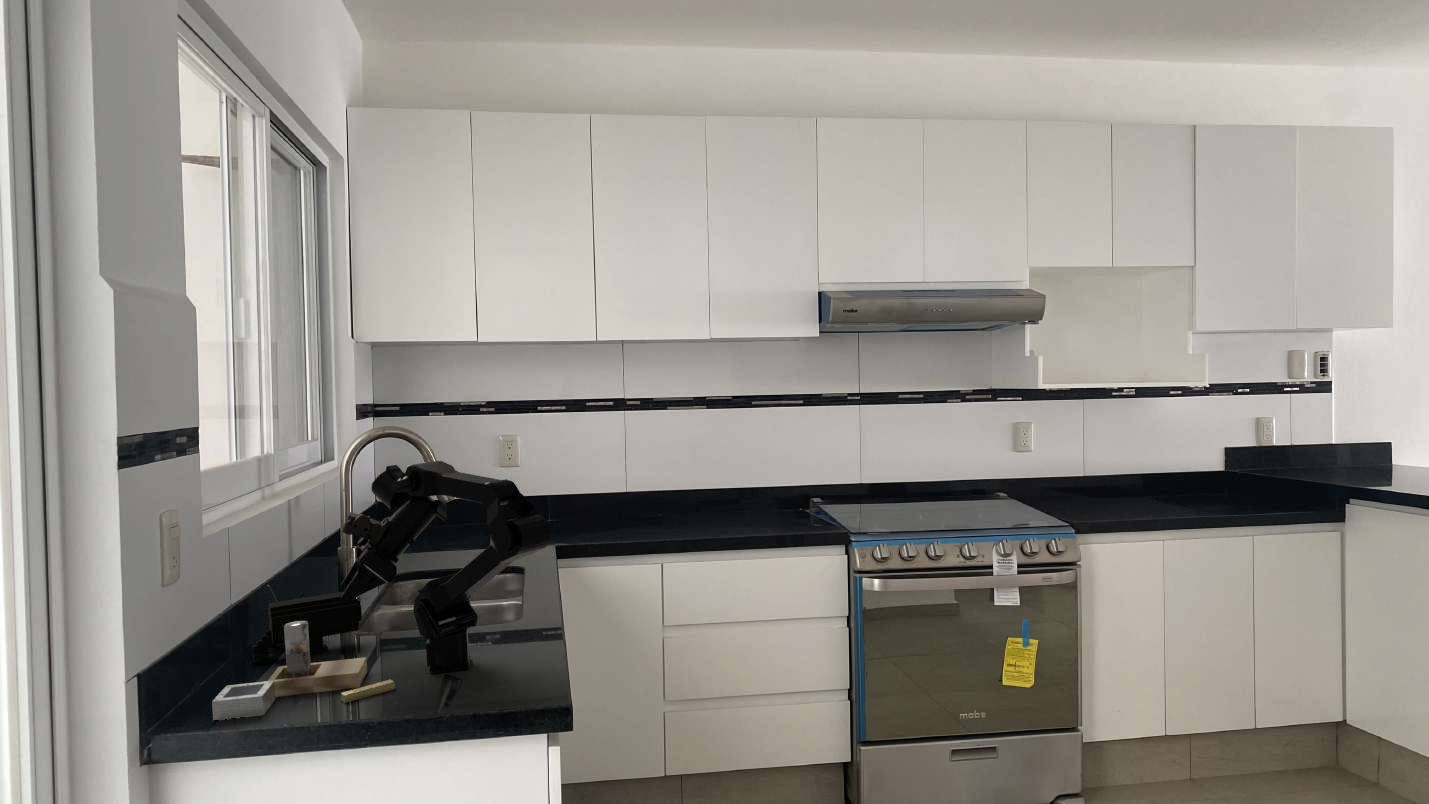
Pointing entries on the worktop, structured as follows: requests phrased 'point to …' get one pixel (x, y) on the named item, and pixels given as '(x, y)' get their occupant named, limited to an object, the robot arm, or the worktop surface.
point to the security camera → (321, 616)
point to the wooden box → (321, 677)
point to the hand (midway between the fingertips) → (342, 594)
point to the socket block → (244, 700)
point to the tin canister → (297, 649)
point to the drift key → (367, 691)
